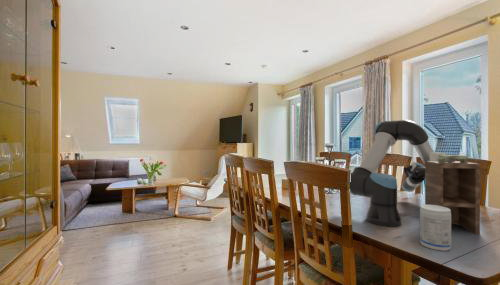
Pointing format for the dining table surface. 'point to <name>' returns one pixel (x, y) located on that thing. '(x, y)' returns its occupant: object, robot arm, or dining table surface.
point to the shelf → (455, 189)
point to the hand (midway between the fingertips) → (429, 164)
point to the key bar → (435, 157)
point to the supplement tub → (435, 227)
